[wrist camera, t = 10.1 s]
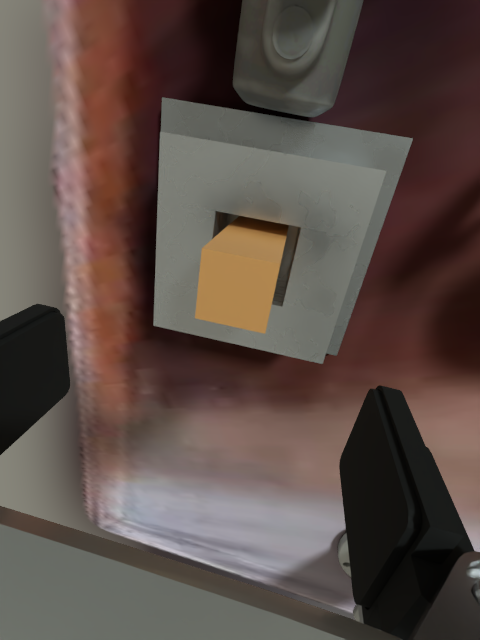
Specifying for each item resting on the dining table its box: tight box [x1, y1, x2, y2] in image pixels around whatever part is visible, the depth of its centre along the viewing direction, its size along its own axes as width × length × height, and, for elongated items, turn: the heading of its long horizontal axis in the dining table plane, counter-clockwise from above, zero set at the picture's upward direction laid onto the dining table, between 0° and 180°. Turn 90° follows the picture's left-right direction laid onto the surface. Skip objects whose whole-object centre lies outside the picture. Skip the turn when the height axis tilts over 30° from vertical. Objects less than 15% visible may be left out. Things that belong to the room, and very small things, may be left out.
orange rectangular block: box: [195, 216, 289, 334], centre depth 20 cm, size 4×4×10 cm
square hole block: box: [153, 97, 413, 364], centre depth 22 cm, size 16×16×6 cm
